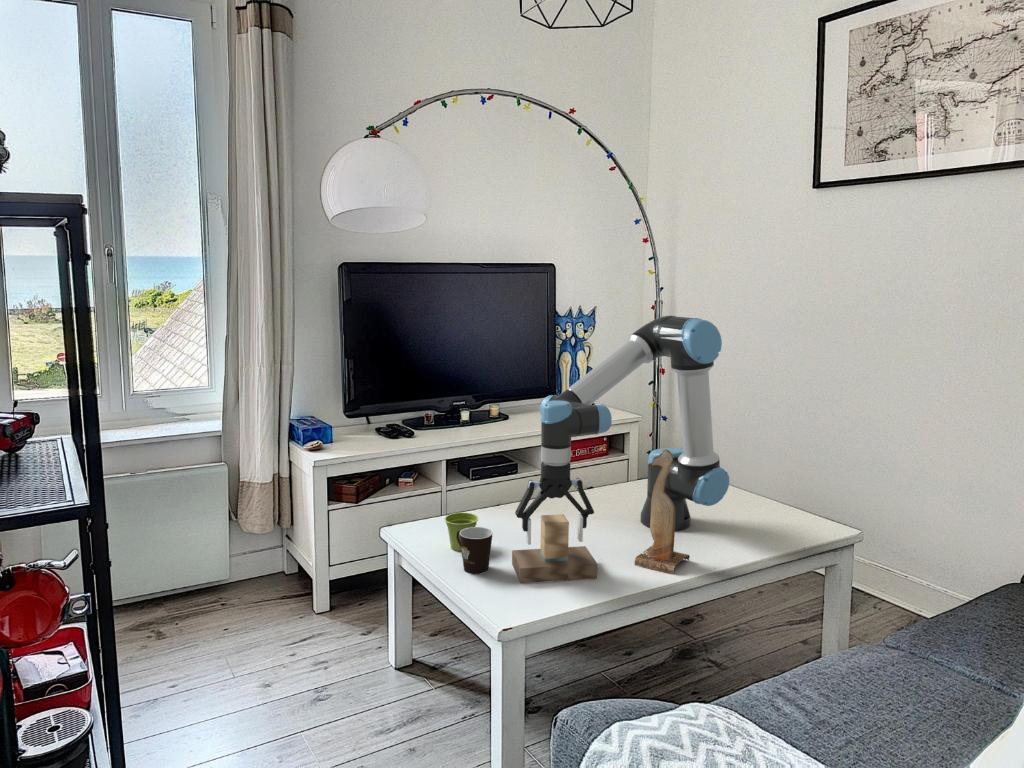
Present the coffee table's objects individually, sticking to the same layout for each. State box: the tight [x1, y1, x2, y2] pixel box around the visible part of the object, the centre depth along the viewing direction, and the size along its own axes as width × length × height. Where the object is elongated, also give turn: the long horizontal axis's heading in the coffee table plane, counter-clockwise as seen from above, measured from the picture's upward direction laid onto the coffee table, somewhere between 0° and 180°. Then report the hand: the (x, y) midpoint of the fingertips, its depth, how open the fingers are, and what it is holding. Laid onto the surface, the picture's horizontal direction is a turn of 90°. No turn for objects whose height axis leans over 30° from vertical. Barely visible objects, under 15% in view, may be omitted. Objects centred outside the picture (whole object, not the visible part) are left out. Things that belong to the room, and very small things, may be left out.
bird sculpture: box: [634, 449, 690, 575], centre depth 208 cm, size 11×12×32 cm
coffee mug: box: [456, 526, 494, 575], centre depth 206 cm, size 12×9×10 cm
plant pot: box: [444, 512, 479, 552], centre depth 220 cm, size 9×9×9 cm
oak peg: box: [540, 513, 570, 562], centre depth 203 cm, size 6×6×14 cm
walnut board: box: [511, 545, 599, 584], centre depth 204 cm, size 20×12×4 cm, turn 100°
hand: (554, 541), depth 203 cm, fingers open, 13 cm apart
